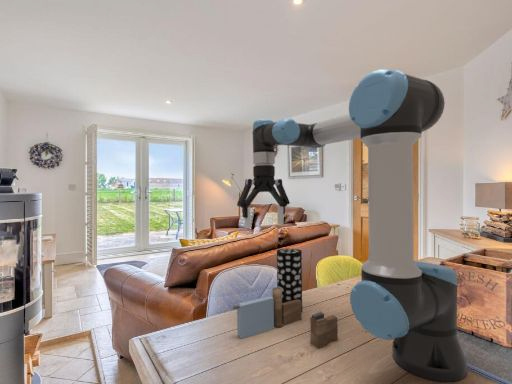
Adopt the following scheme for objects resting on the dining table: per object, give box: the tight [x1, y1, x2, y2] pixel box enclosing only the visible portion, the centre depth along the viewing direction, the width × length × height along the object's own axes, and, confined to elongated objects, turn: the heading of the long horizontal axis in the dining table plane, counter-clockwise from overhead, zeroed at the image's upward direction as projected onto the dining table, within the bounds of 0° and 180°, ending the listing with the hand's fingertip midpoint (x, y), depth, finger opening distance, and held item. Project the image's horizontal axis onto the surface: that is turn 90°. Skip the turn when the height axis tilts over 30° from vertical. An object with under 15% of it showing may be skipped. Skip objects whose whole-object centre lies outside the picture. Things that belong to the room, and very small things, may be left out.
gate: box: [232, 295, 275, 340], centre depth 85 cm, size 12×2×9 cm, turn 121°
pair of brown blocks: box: [272, 287, 339, 349], centre depth 85 cm, size 17×10×11 cm, turn 31°
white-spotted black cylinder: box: [276, 248, 303, 313], centre depth 101 cm, size 8×8×20 cm
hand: (264, 225), depth 105 cm, fingers open, 13 cm apart
